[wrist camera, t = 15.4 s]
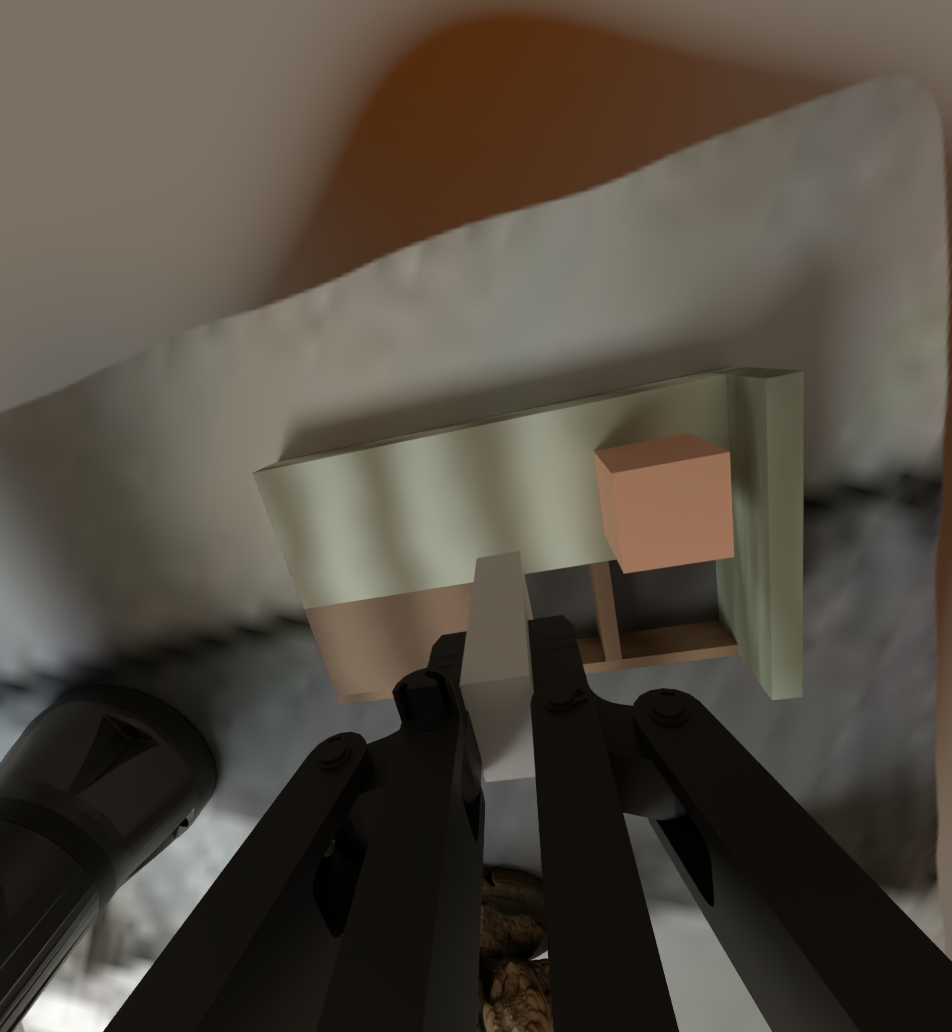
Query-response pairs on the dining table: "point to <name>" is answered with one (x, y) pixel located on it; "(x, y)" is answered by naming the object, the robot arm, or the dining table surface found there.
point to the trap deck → (549, 533)
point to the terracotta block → (666, 502)
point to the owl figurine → (513, 955)
